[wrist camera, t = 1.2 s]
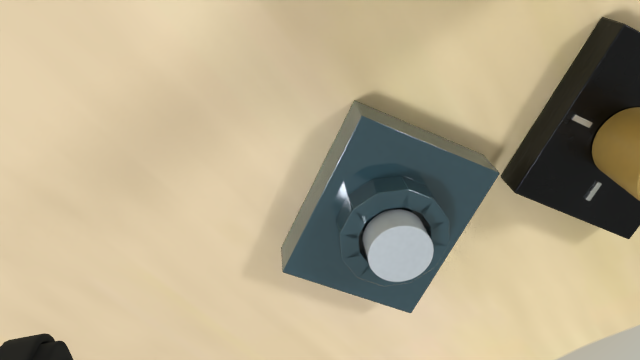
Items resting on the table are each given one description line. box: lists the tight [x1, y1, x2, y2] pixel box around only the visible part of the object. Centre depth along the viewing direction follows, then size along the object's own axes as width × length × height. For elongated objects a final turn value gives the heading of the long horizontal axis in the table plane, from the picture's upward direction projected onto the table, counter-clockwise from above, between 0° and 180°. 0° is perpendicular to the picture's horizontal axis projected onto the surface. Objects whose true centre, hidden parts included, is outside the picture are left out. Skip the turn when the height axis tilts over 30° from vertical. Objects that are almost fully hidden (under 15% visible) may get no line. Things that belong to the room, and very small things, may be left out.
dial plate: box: [501, 17, 640, 239], centre depth 38 cm, size 12×10×3 cm
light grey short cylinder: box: [363, 209, 434, 282], centre depth 35 cm, size 4×4×2 cm
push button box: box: [281, 100, 500, 313], centre depth 38 cm, size 12×10×5 cm
